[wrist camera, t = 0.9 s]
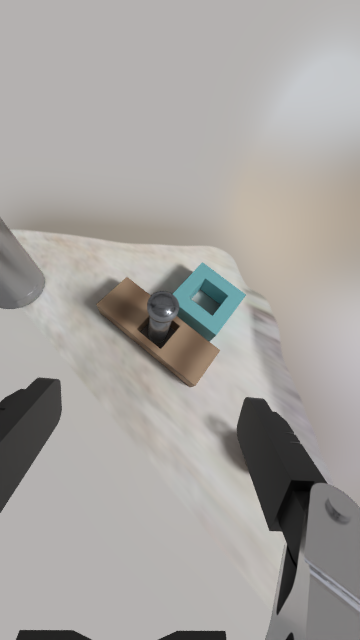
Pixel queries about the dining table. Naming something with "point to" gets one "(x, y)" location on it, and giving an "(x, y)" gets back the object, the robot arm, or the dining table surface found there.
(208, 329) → the holder
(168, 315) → the axle
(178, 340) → the beam
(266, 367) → the dining table surface
